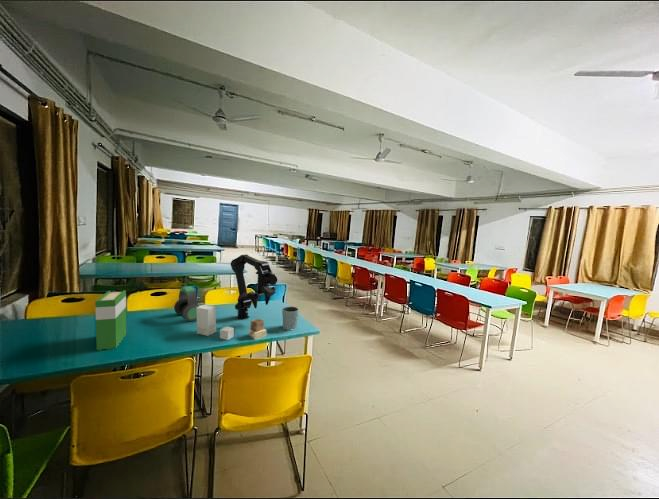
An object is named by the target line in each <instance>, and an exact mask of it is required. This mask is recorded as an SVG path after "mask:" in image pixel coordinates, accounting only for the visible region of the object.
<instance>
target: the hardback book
mask: <svg viewBox="0 0 659 499" xmlns="http://www.w3.org/2000/svg"><path fill="white" fill-rule="evenodd" d="M126 292H127V290H126V289H125V290H122V291H115V292H113V291H112V292H111V290H108V291H106V292H105V293H104V294H102V295H101V296H100V297H99V298H97V299H96V300H95V301H94V302H95V304H94V305H95V340H96V341H95V343H96V351H97V350H98V351H103V350H102V349H107V350H115V349H114V348H116V349H117V348H118V347H119V345H120V344H121V342H122V341H123V339H124V338H123V337H125V336H126V335H127V334H126V333H127V293H126ZM121 340H122V341H121ZM119 343H120V344H119ZM117 346H118V347H117Z"/></svg>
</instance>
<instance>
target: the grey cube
mask: <svg viewBox="0 0 659 499" xmlns="http://www.w3.org/2000/svg"><path fill="white" fill-rule="evenodd" d="M219 330H220V331H219V338H220V339H221V340H226V341H228V340H230V339H232V338H233V337H234V335H235V334H234V333H235V329H234V327H232V326H224V327H222V328H221V329H219Z"/></svg>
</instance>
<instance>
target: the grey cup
mask: <svg viewBox="0 0 659 499" xmlns="http://www.w3.org/2000/svg"><path fill="white" fill-rule="evenodd" d="M281 310H282V311H281V312H282V313H281V314H282V328H284V330H285V329H287V330H286V331H292V330H291V329H295V328H296V329H297V327H298V319H299V308H298V307H297V306H285V307H282V308H281ZM296 329H295V330H296Z"/></svg>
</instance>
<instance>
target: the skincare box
mask: <svg viewBox="0 0 659 499" xmlns="http://www.w3.org/2000/svg"><path fill="white" fill-rule="evenodd" d="M216 308H217V307H216V305H211V304H202V305H199V307H196V311H197V319H196V334H197V335H202V336H207V337H209V336H211V335H213V334H216V333H217V315H216V314H217V311H216Z"/></svg>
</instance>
